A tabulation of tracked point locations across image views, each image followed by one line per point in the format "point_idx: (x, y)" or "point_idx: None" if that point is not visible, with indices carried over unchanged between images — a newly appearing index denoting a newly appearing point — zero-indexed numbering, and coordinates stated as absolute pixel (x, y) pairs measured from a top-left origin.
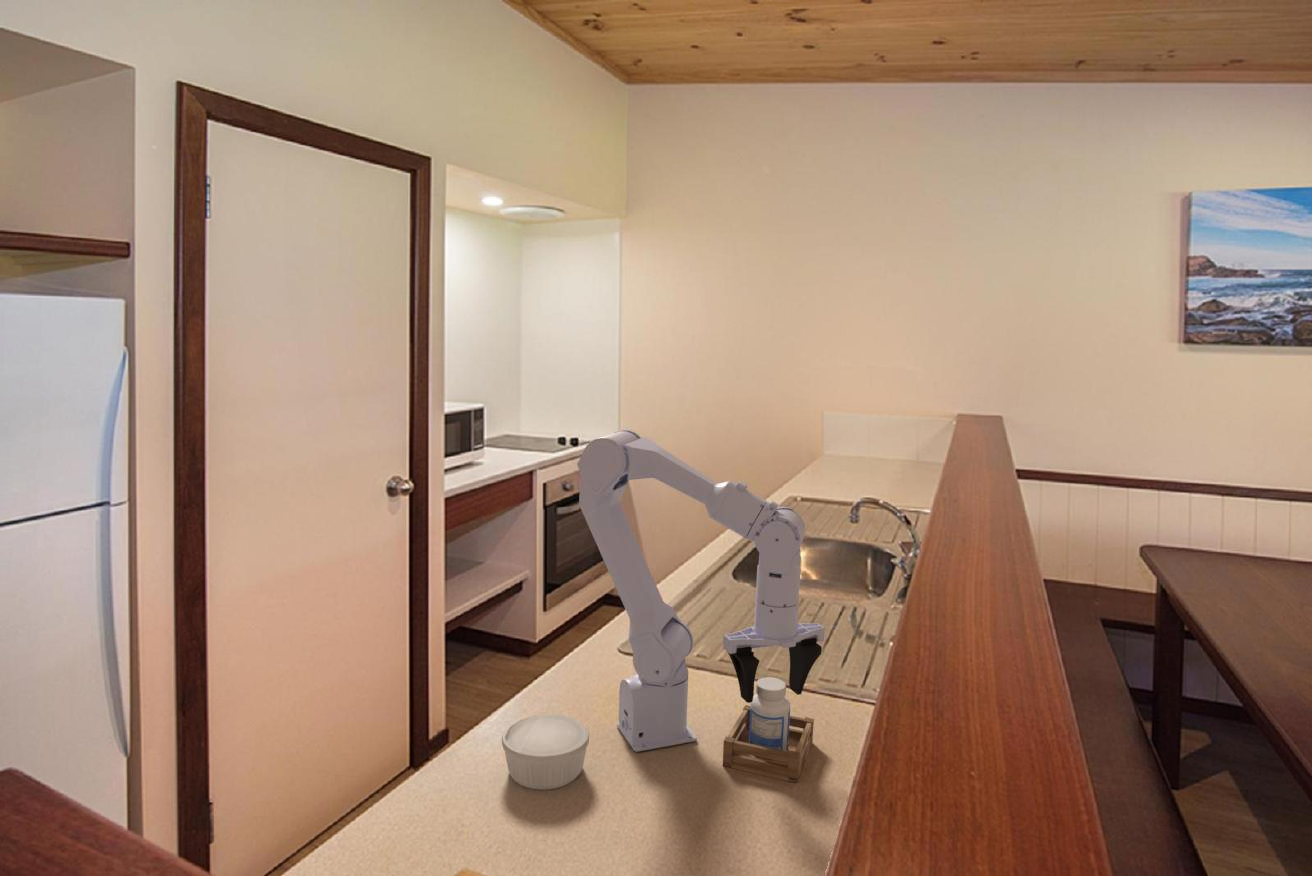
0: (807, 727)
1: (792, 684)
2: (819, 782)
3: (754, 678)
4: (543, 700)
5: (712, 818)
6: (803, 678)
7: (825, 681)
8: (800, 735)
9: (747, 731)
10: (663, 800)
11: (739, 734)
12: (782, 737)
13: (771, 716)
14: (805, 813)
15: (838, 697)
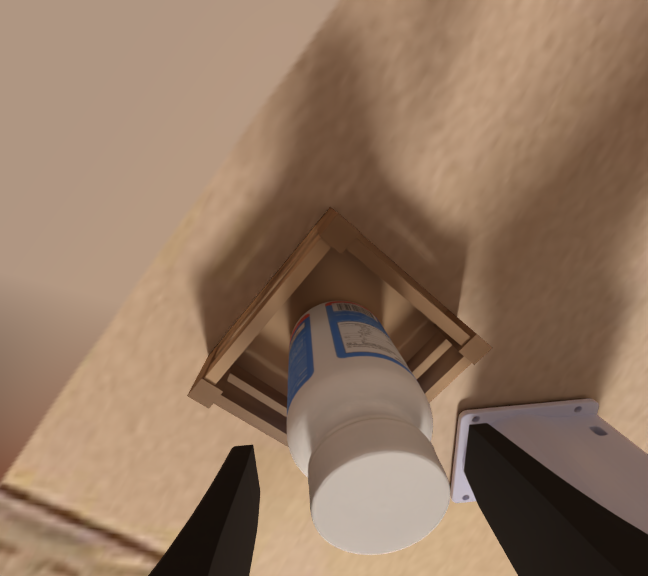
0: (227, 360)
1: (254, 503)
2: (270, 194)
3: (574, 526)
4: None
5: (593, 129)
6: (213, 515)
7: (65, 566)
8: (236, 371)
9: None
10: (642, 229)
11: None
12: (332, 323)
13: (389, 363)
14: (376, 71)
15: (59, 509)
